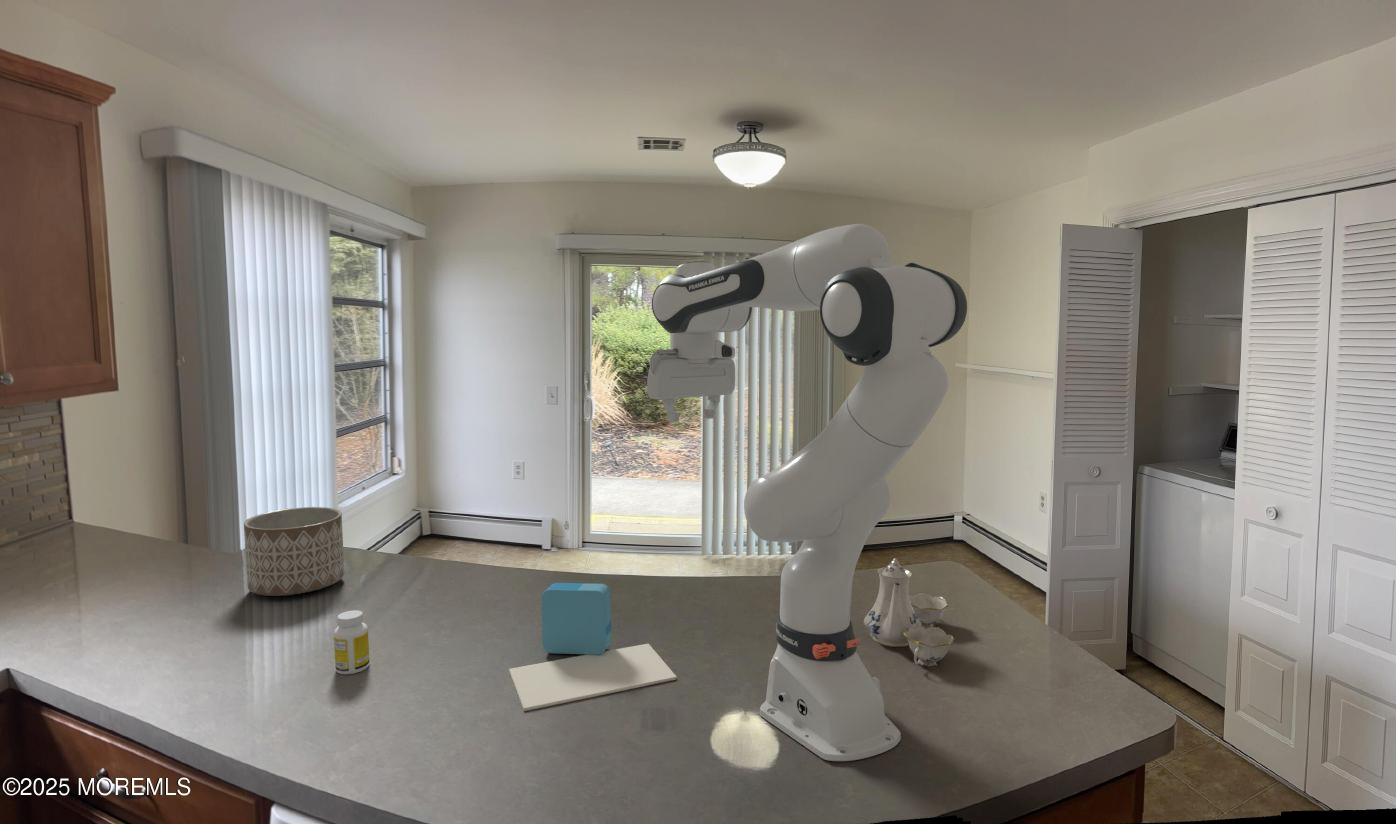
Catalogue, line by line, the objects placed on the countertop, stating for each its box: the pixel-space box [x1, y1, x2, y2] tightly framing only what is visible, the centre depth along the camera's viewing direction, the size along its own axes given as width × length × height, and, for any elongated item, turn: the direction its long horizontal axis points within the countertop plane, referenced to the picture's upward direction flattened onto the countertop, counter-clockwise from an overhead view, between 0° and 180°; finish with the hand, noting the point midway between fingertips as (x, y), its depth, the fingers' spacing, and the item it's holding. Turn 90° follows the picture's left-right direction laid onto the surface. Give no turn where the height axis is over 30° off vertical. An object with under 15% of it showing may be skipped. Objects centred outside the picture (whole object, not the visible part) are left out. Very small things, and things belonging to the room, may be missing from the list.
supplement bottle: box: [333, 609, 370, 675], centre depth 122 cm, size 5×5×10 cm
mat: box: [508, 643, 678, 712], centre depth 121 cm, size 14×26×1 cm, turn 114°
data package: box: [541, 582, 612, 655], centre depth 129 cm, size 12×4×12 cm, turn 83°
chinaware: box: [863, 558, 955, 668], centre depth 136 cm, size 28×17×17 cm, turn 168°
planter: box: [243, 506, 345, 597], centre depth 159 cm, size 19×19×16 cm
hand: (691, 420), depth 135 cm, fingers open, 8 cm apart
